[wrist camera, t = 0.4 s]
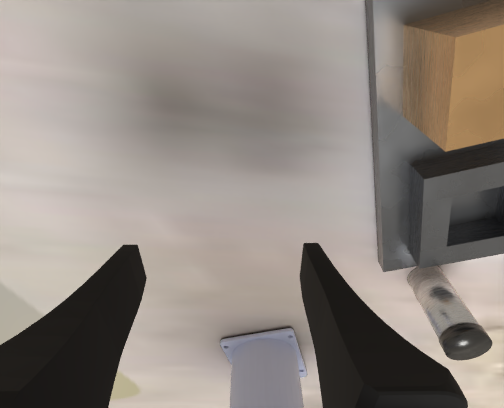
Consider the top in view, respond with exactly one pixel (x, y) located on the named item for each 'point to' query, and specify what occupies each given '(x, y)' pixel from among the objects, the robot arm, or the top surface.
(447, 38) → the square socket plate
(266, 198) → the top surface
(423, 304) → the shiny metal cylinder
